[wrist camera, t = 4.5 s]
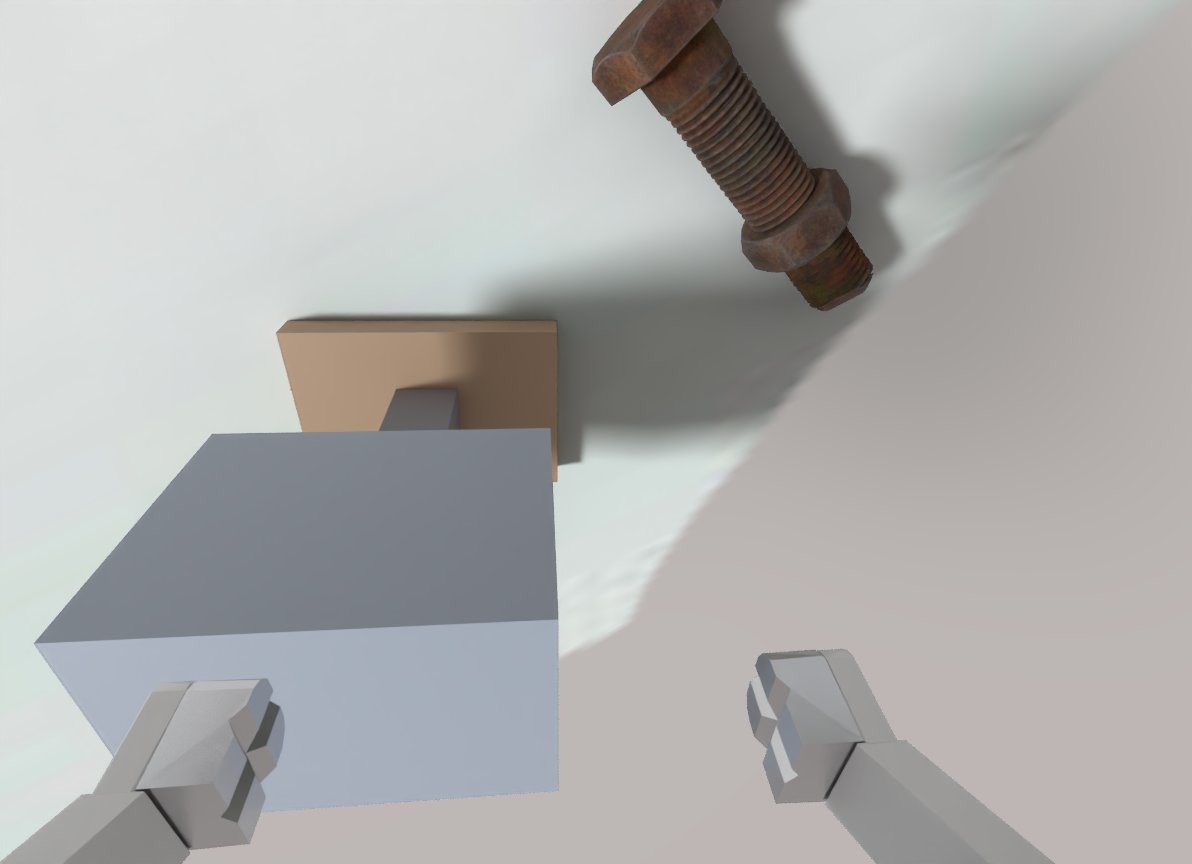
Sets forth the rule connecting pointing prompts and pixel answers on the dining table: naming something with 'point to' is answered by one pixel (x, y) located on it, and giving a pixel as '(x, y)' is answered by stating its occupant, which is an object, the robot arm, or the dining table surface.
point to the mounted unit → (357, 570)
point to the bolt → (738, 146)
